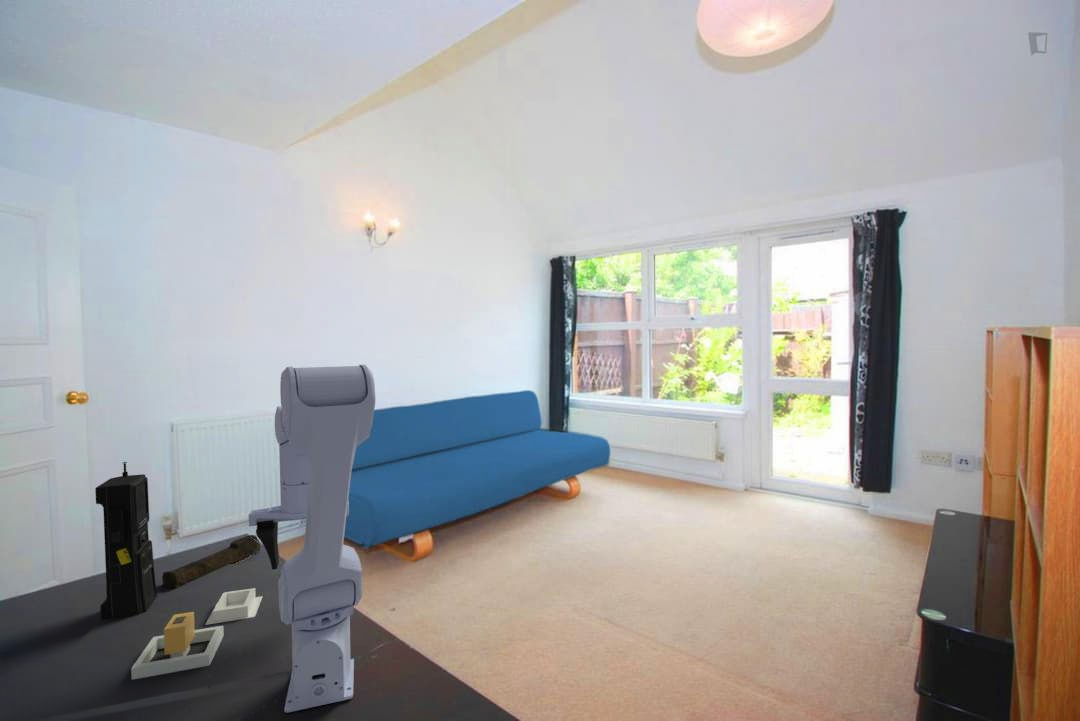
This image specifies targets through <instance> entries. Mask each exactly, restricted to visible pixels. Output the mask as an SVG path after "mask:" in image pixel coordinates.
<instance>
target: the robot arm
mask: <svg viewBox="0 0 1080 721" xmlns="http://www.w3.org/2000/svg"><path fill="white" fill-rule="evenodd" d="M279 384H280V385H279V386H280V387H279V388H280V390H279V391H280V393H279V395H280V406H277V407H276V409H275V413H274V432H275V433H274V434H275V438H276V441H277V444H278V446H279V447H278V448H279V451H278V452H279V454H278V456H279V484H280V485H279V486H280V487H279V489H280V491H279V492H280V493H279V494H280V505H276V506H271V507H267V508H260V509H253V510H252V509H251V510H250V512H249V514H248V527H256V529H255V534H256V537H257V539H258V540H260V541H259V542H261V544H262V546H263V547H264V549H265V551H266V553H267V557H269V558H268V559H269V562H270V566H271V569H272V570H277V569H278V567H279V565H280V563H279V562H280V556H279V555H280V554H279V546H278V545H279V544H278V532H279V531H278V530H279V522H289V521H299V520H300V521H301V520H305V534H304V546H303V547H304V548H303V549H301V550H300V551H299V552H297V553H296V554H295V555H293V556H291V557H290V558H289V559H288V560H287V561H285V562H284V563H283V565H282V568H281V570H280V577H279V579H278V582H277V584H278V589H277V591H278V592H277V593H278V609H279V615H280V616H279V617H280V620H281V622H283V623H284V624H285V625H287V626H288V625H291V652H292V653H291V654H292V660H291V661H292V664H291V665H292V667H291V668H292V671H291V676H290V681H289V684H288V690H287V694H286V695H287V696H286V698H285V704H284V710H283V711H284V713H292V712H297V711H301V710H307V709H311V708H315V707H320V706H323V705H328V704H333V703H340V702H343V701H348V700H351V699H352V698H353V696H354V681H355V680H354V678H355V676H354V675H355V674H354V673H355V672H354V671H355V657H351V616H353V615H354V607H355V606H358V605H359V603H360V601H361V600H362V597H363V578H362V576H363V569H362V564H361V563H362V562H361V560H360V556H359V554H358V553H357V551H356V550H355V548H354V547H352V546H349V545H347V544H344V539H345V534H346V533H345V532H346V525H347V524H346V523H347V522H346V521H347V517H348V516H350V504H349V503H350V501H349V498H350V488H351V478H352V470H353V466H354V461H355V456H356V453H357V452H356V451H357V449H358V446H360V445H361V444H362V443H364V442H365V441H366V440H368V439H369V438H370V436H371V430H372V427H373V421H374V415H375V408H376V388H375V378H374V375H373V372H372V371H371V369H370V368H369V367H368V366H367V365H366V364H358V365H348V366H342V365H341V366H316V367H314V366H313V367H311V366H310V367H293V366H286V368H285V369H284V370H283V371H282V372H281V373H280V382H279Z"/></svg>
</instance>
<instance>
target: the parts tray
mask: <svg viewBox="0 0 1080 721" xmlns="http://www.w3.org/2000/svg"><path fill="white" fill-rule="evenodd" d="M224 636H225V635H224V625H220V626H219V625H218V626H212V627H206V628H200V629H195V636H194V638H193V639H192V641H191V643H190V645H191V644H196V643H201V642H208V641H209V642H208V644H207V647H206V648H205V649H204V650H205V651H204V652H200V653H195V654H194V653H193V654H189V655H188V654H187V655H186V656H182V657H176V658H166V659H165V658H164V659H161V660H154V661H152V659H153V658H154V656H155V654H156V653H157V652H158V650H160V649H161V650H162V649H164V634H163V635H158V636H153V637H152V638H151V640H150V641H149V642H148V643H147V645H146V647H145V649H143V651H142V652H141V653H140V656H139V657H138V658H137V659H136V661H135V663H133V665H132V666H131V670H130V672H131V681H132V680H139V679H143V678H148V677H154V676H155V677H156V676H160V675H166V674H170V673H177V672H180V671H186V670H187V671H188V670H192V669H197V668H204V667H208V666H209V667H210V666H211V663H212V661H213V659H214V657H215V655H216V652H217V650H218V648H219V646H220V645H221V642H222V640H223V638H224Z"/></svg>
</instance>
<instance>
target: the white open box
mask: <svg viewBox="0 0 1080 721" xmlns="http://www.w3.org/2000/svg"><path fill="white" fill-rule="evenodd" d="M263 597H264V595H261V596H256V587H253V588H248V589H246V588H245V589H239V590H232V591H225V592H223V593H222V595H220V598H219V600H218V602H217V603H216V604H215V606H214V608H213V609H212V611H211V613H210V615H209V617H208V619H207V621H206V623H205V626H207V625H208V626H209V625H212V624H213V625H215V624H219V623H220V624H221V623H225V622H226V623H227V622H232V621H239V620H245V619H252V618H256V615H257V613H258V610H259V607H260V605H261V603H262V599H263Z"/></svg>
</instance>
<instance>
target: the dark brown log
mask: <svg viewBox="0 0 1080 721" xmlns="http://www.w3.org/2000/svg"><path fill="white" fill-rule="evenodd" d="M251 537H252V538H251ZM254 539H255V540H256V541H258V542H259V543H260V542H261V541H259V540H260V539H259V538H258V537H257V535H254V534H250V535H245V536H244V537H240V538H238V539H235V540H233V541H232V542H230V543H229V546H228V547H226V548H224V549H222V550H219V551H217V552H214V553H212V554H210V555H207V556H205V557H202V558H200V559H198V560H196V561H191V562H190V563H188V564H187V563H186V564H185V565H183V566H180V567H177V568H175V569H173V570H170V571H164V572H163V573H162V576H161V578H162V579H161V580H162V586H163V587H165V588H169V589H172V590H173V589H175V590H176V589H178V588H179V587H181V586H184V585H186V584H188V583H190V582H191V581H194V580H196V579H198V578H202V577H203V576H206V575H208V574H211V573H213V572H215V571H218V570H219V569H221V568H223V567H226V566H228V565H233V564H237V563H236V562H239V561H241V560H244V559H245V558H248V557H249V556H250V555H253V554H254V553H256V552H257V551H259V552H260V551H261V543H260V544H259V543H258V542H256V541H255V540H254Z"/></svg>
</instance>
